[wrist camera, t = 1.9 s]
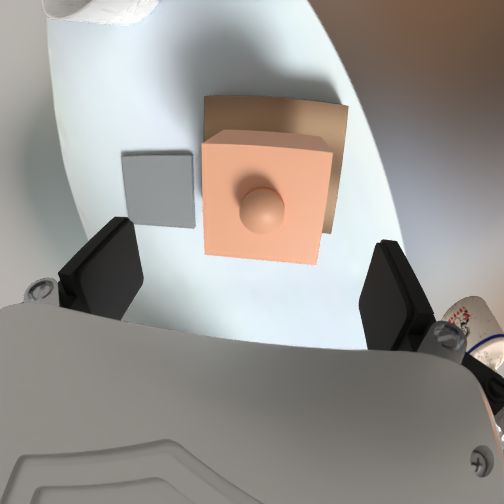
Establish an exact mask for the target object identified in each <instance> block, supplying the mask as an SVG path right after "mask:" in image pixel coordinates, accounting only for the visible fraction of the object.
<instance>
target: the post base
mask: <svg viewBox="0 0 504 504" xmlns="http://www.w3.org/2000/svg"><path fill="white" fill-rule="evenodd" d="M347 117H348V106H346V105H342V104H335V103H328V102H320V101H312V100H303V99H292V98H280V97H263V96H232V95H213V96H204V142H205V141H206V140H208V139H210V138H211V137H213V136H214V135H216V134H218V133H219V132H221V131H223V130H251V131H268V132H282V133H293V134H303V135H313V136H321V137H322V138H323V140H324V141H325V142H326V144H327V145H328V147H329V148H330V149H331V151H332V152H333V157H332V165H331V173H330V181H329V188H328V195H327V202H326V209H325V215H324V222H323V228H322V233H327V234H331V231H332V225H333V220H334V214H335V208H336V201H337V195H338V188H339V182H340V175H341V167H342V160H343V152H344V144H345V135H346V126H347Z"/></svg>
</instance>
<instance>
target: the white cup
mask: <svg viewBox="0 0 504 504" xmlns="http://www.w3.org/2000/svg"><path fill="white" fill-rule="evenodd" d="M158 3H159V0H41V5H42V9H43V11H44V13H45V15H46V16H47V17H49V18H51V19H54V20H65V21H78V22H87V23H98V24H116V25H121V26H127V25H131V24H135V23H138V22H139V21H141V20H142V19H144V18H145V17H147V16H148V15H150V14H151V12H152V11H153V10H154V8H155V7H156V6H157V5H158Z"/></svg>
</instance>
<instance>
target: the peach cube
mask: <svg viewBox="0 0 504 504" xmlns="http://www.w3.org/2000/svg"><path fill="white" fill-rule="evenodd" d="M332 157H333V152H332V151H331V149H330V148H329V147H328V145H327V144H326V142H325V141H324V140H323V138H322V137H321V136H313V135H303V134H293V133H282V132H268V131H251V130H223V131H221V132H219V133H218V134H216V135H214V136H213V137H211V138H210V139H208V140H206V141H205V142H203V143H202V196H203V225H204V248H205V255H215V256H225V257H236V258H246V259H257V260H267V261H278V262H289V263H300V264H311V265H316V263H317V258H318V252H319V246H320V240H321V234H322V228H323V222H324V215H325V209H326V202H327V195H328V188H329V181H330V173H331V165H332Z"/></svg>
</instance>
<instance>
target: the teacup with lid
mask: <svg viewBox="0 0 504 504" xmlns="http://www.w3.org/2000/svg"><path fill="white" fill-rule="evenodd" d="M441 321H448V322H451V323H453V324H455V325H456V326H458V327H459V328H460V329H461V330H462V331H463V332H464V334H465V336H466V338H467V342H468V343H467V348H466V352H467V353H469V354H470V355H472V356H473V357H475V358H476V359H478V360H479V361H481V362H482V363H483V364H485V365H486V366H488V367H489V368H491V369H492V370H494V371H495V372H496V373H497V371H496V369H497V368H498V367H499V366H500V365H501V364H502V363H503V361H504V332H503V330H502V329H501V327H500V325H499V324H498V322H497V320H496V319H495V317H494V315H493V314H492V312H491V311H490V309H489V307H488V306H487V304H486V303H485V301H484V300H483V299H482V298H480V297H477V296H470V297H466V298H464V299H462V300H460V301H458V302H457V303H455V304H454V305H453V306H452V307H451V308H449V310H448V311H447V312H446V313H445V315H444V316H443V318H442V320H441Z"/></svg>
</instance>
